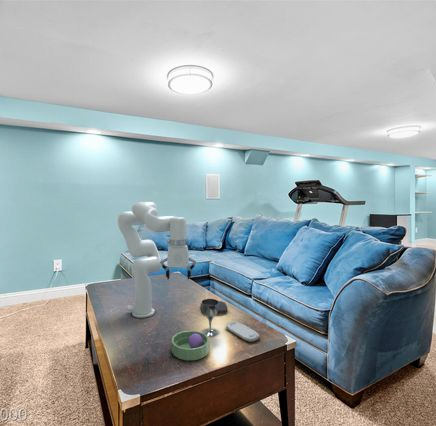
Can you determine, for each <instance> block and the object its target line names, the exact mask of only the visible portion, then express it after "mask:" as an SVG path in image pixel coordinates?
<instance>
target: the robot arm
mask: <svg viewBox="0 0 436 426" xmlns="http://www.w3.org/2000/svg"><path fill="white" fill-rule="evenodd" d="M158 209H159V208H158V206H157V204H156V203H155V202H153V201H138V202H135V203H134V204H133V205H132V207H131V210H128V211H122V212H121V213H120V214H119V215H118V216H117V226H118V229H119V231H120V233H121V234H122V235H123V238H124V241H125V244H126V246H127V249H128V252H129V254H130V256H131V257H132V258H135V260H133V262H132V264H131V269H132V273H133V284H134V285H133V288H134V289H133V290H134V293H133V294H134V304H133V305H127V307H126V308H127V310H128V311H131V314H132V315H131V316H133V317H134V318H138V319H140V318H143V319H144V318H149V317H151V316H153V315H155V313H156V310H155V309H154V308H153V299H152V298H153V295H152V293H153V292H152V291H153V289H152V280H151V279H150V278H151V277H149V276H148V275H149V274H153V273H158V272H160V271H161V270H162V268H163V269H164V271H165V278H166V280H170V277H171V276H170V274H171V273H170V269H173V268H174V269H177V268H178V269H179V268H181V269H183V268H184V269H185V268H186V269H187V280H190V278H191V277H192V270H193V269H194V268H195V266H196V265H197V260H195V259H193V258H191V257H190V256H189V255H190V254H189V247H188V245H187V227H186V225H187V223H186V220H187V219H186V218H185V217H183V216H175V215H163V216H162V215H161V216H160V215H159V211H158ZM143 225H145V227H146V229H149V230H150V231H151V232H153V233H165V232H169V240H166V244H169V246H168V247H167V254H166V255H167V256H166V257H165V258H163V259H162V257H161V256H160V252H159V249H158V248H157V245H156V243H155V242H154V240H152V239H150V238H149V239H142V238H141V236H140V233H139V231H138V230H136V228H134V227H133V226H143ZM190 262H191V263H192V264H191V265H190ZM165 263H166V265H165Z"/></svg>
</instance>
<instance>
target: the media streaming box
mask: <svg viewBox="0 0 436 426" xmlns="http://www.w3.org/2000/svg"><path fill="white" fill-rule="evenodd" d="M217 301H218V312H217V314H216V315H225V314H227V313H228V305H227V304H226V302H225V301H221V300H217ZM200 310H201V313H202V314H203V310H202V302H200Z"/></svg>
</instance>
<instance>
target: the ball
mask: <svg viewBox="0 0 436 426" xmlns="http://www.w3.org/2000/svg"><path fill="white" fill-rule="evenodd" d="M202 342H203V340H202V337H201V336H200V335H199V334H196V333H195V334H192V335H191V336H190V337H189V345H190V347H191V348H198V347H201V345H202Z"/></svg>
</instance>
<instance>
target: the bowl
mask: <svg viewBox="0 0 436 426" xmlns="http://www.w3.org/2000/svg"><path fill="white" fill-rule="evenodd" d="M195 333H196V334H199V335H200V336H201V337H202V340H203V342H202V345H201V347H198V348H191V347H190V345H189V337H190V336H191V335H192V334H195ZM209 352H210V336H207V335H206V334H204V333H203V331H199V330H191V329H190V330H183V331H179V332H177V333H175V334H174V335H173V336H172V337H171V353H172V355H173V356H175V358H177V359H178V360H179V359H180V360H182V361H197V360H201V359H202V358H205V357H207V355H208V354H209Z"/></svg>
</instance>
